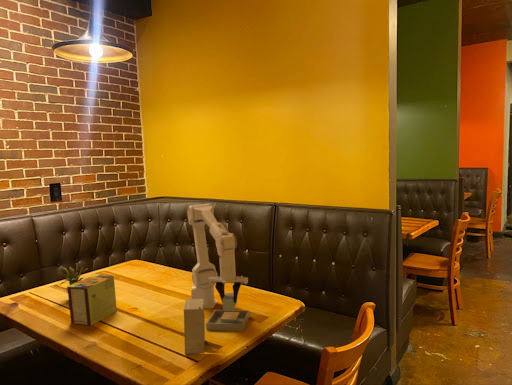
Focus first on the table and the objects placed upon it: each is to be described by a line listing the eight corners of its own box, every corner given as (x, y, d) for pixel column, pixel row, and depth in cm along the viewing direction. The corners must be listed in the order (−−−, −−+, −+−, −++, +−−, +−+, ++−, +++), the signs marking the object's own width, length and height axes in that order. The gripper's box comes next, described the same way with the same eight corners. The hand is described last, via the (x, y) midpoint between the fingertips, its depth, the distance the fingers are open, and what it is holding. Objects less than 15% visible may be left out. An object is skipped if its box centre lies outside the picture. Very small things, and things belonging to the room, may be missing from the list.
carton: (222, 309, 139) (222, 299, 138) (226, 302, 145) (226, 292, 144) (233, 309, 138) (232, 299, 138) (236, 303, 144) (236, 293, 144)
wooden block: (220, 327, 139) (220, 318, 139) (224, 320, 145) (224, 311, 145) (236, 328, 138) (236, 319, 138) (240, 320, 144) (239, 312, 144)
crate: (206, 331, 138) (206, 323, 138) (215, 316, 150) (214, 309, 150) (243, 332, 136) (243, 324, 136) (249, 317, 148) (249, 310, 147)
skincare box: (186, 342, 130) (183, 298, 129) (207, 340, 131) (204, 297, 129) (184, 355, 122) (180, 309, 120) (206, 353, 123) (203, 307, 121)
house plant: (49, 303, 172) (45, 269, 171) (73, 292, 185) (70, 260, 183) (72, 307, 167) (68, 271, 165) (95, 295, 180) (92, 262, 178)
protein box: (117, 310, 161) (114, 275, 160) (91, 326, 147) (87, 288, 145) (97, 308, 165) (94, 273, 163) (70, 323, 150) (66, 286, 148)
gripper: (205, 269, 137) (207, 305, 138) (244, 270, 134) (246, 306, 136) (211, 264, 144) (213, 298, 145) (248, 264, 141) (249, 298, 143)
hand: (229, 301), depth 141 cm, fingers closed on carton, 4 cm apart
